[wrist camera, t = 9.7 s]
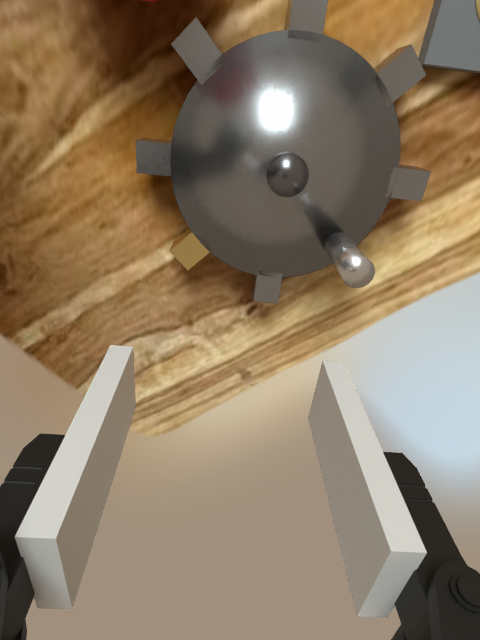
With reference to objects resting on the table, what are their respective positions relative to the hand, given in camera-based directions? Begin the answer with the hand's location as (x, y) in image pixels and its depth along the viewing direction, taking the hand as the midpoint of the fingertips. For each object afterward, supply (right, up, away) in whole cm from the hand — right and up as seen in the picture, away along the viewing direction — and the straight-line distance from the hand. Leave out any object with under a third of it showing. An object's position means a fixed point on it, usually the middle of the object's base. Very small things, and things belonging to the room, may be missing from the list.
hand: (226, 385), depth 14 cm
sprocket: (+3, +13, +12) cm, 18 cm away
